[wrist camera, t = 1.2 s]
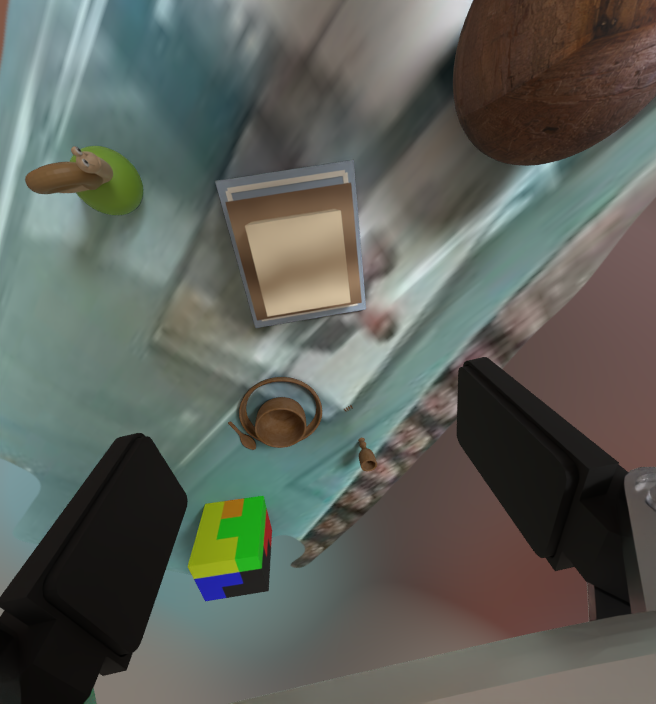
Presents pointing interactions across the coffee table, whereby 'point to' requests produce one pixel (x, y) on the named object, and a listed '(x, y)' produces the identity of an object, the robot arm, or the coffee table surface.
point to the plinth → (288, 207)
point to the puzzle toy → (232, 549)
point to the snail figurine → (92, 180)
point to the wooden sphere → (552, 74)
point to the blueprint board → (283, 184)
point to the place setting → (287, 423)
